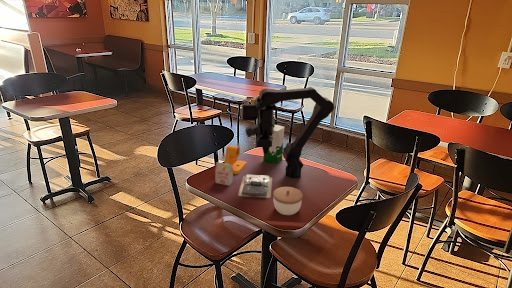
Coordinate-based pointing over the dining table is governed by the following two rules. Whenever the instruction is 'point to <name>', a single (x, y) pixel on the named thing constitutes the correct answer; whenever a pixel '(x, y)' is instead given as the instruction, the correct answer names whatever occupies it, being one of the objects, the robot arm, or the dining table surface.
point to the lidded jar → (287, 200)
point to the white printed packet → (223, 173)
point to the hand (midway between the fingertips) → (265, 154)
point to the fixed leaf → (257, 179)
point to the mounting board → (256, 195)
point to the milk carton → (275, 146)
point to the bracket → (234, 159)
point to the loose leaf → (255, 188)
